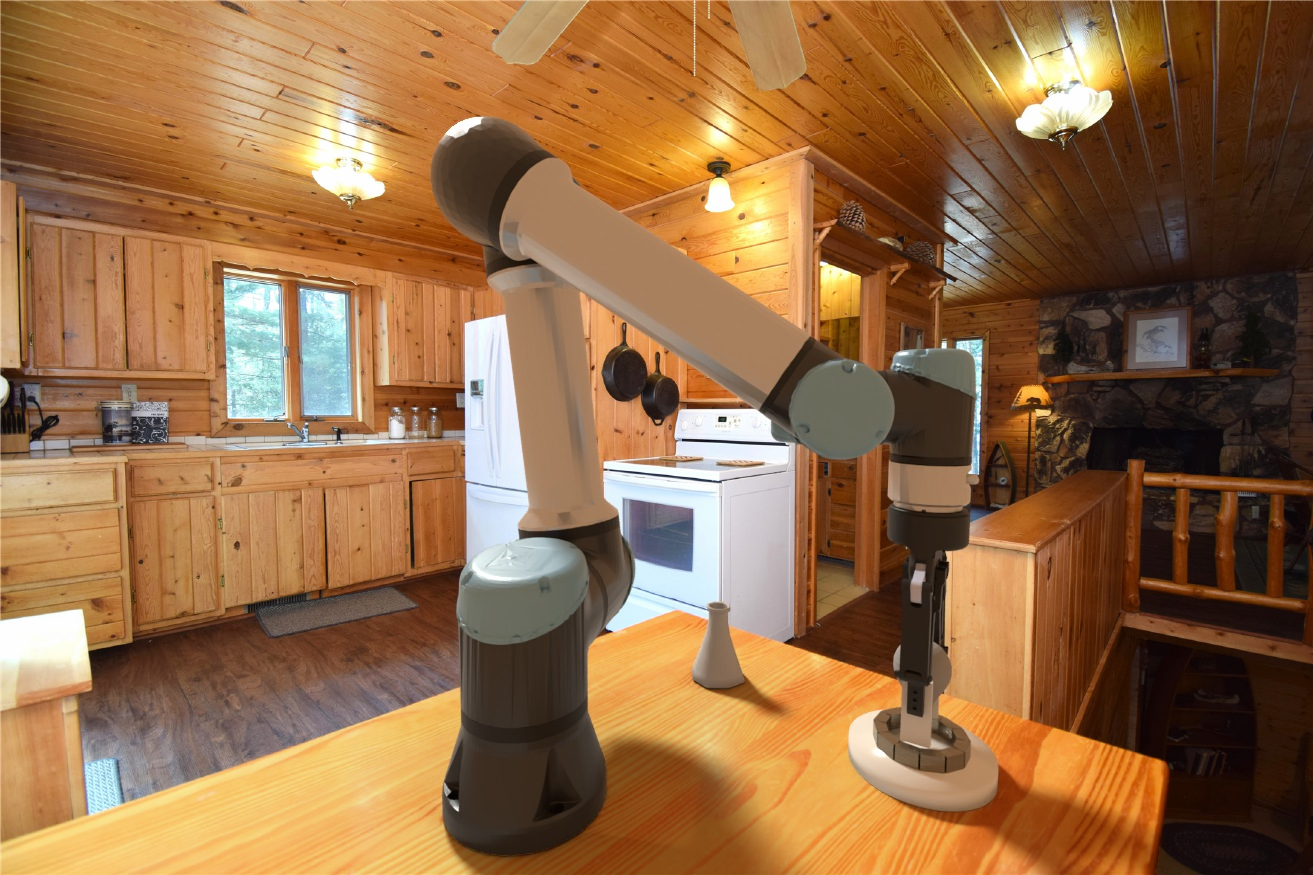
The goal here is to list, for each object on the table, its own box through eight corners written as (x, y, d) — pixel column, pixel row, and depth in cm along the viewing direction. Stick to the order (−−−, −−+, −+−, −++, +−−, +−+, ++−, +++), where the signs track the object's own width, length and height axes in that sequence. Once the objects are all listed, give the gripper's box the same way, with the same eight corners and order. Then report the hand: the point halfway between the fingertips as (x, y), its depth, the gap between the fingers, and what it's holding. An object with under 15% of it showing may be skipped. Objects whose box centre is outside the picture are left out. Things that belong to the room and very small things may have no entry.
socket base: (859, 800, 55) (860, 780, 55) (840, 720, 69) (840, 703, 69) (1022, 820, 52) (1023, 799, 52) (969, 732, 66) (969, 715, 66)
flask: (683, 669, 82) (683, 599, 81) (730, 662, 84) (731, 593, 83) (702, 694, 75) (703, 617, 74) (754, 686, 77) (755, 611, 76)
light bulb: (952, 730, 61) (956, 637, 60) (944, 756, 57) (948, 656, 56) (897, 714, 64) (900, 625, 63) (885, 738, 60) (888, 642, 59)
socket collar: (883, 766, 57) (883, 751, 57) (867, 717, 66) (867, 703, 65) (982, 777, 55) (983, 761, 55) (952, 725, 64) (953, 711, 64)
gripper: (962, 526, 49) (951, 791, 51) (976, 495, 65) (968, 698, 66) (868, 516, 53) (861, 762, 54) (903, 489, 68) (897, 681, 70)
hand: (919, 726), depth 60 cm, fingers closed on light bulb, 5 cm apart
